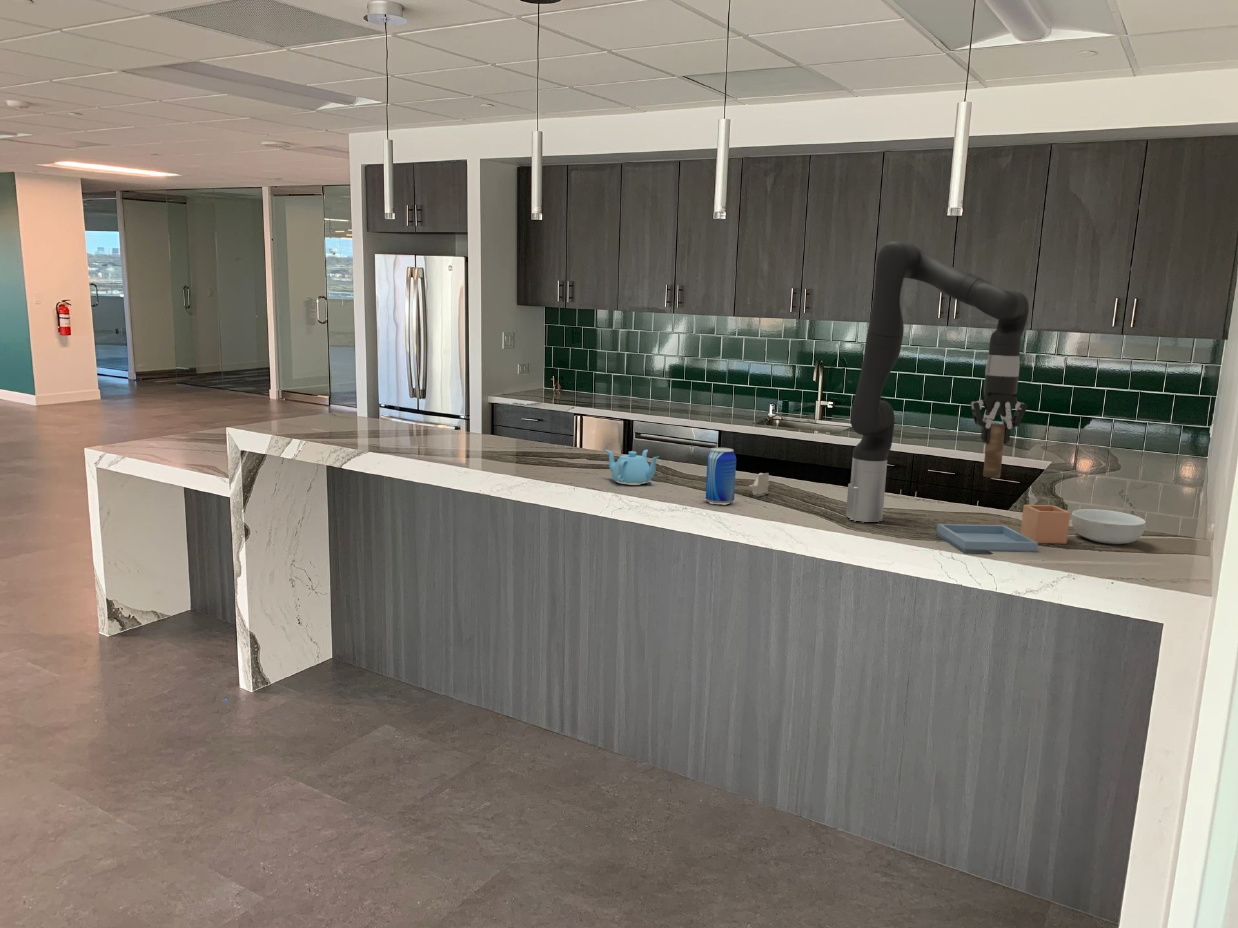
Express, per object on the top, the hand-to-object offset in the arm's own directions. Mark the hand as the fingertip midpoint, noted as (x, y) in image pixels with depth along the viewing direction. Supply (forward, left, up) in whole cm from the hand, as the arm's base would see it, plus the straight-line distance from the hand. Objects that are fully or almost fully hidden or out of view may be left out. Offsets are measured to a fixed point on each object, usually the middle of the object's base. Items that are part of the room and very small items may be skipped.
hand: (994, 443), depth 229 cm
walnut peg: (0, 0, -8) cm, 8 cm away
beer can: (-61, +43, -26) cm, 79 cm away
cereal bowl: (+34, +5, -26) cm, 43 cm away
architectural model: (-47, +55, -27) cm, 77 cm away
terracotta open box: (+17, +4, -26) cm, 31 cm away
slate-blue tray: (0, 0, -26) cm, 26 cm away
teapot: (-85, +72, -26) cm, 114 cm away
